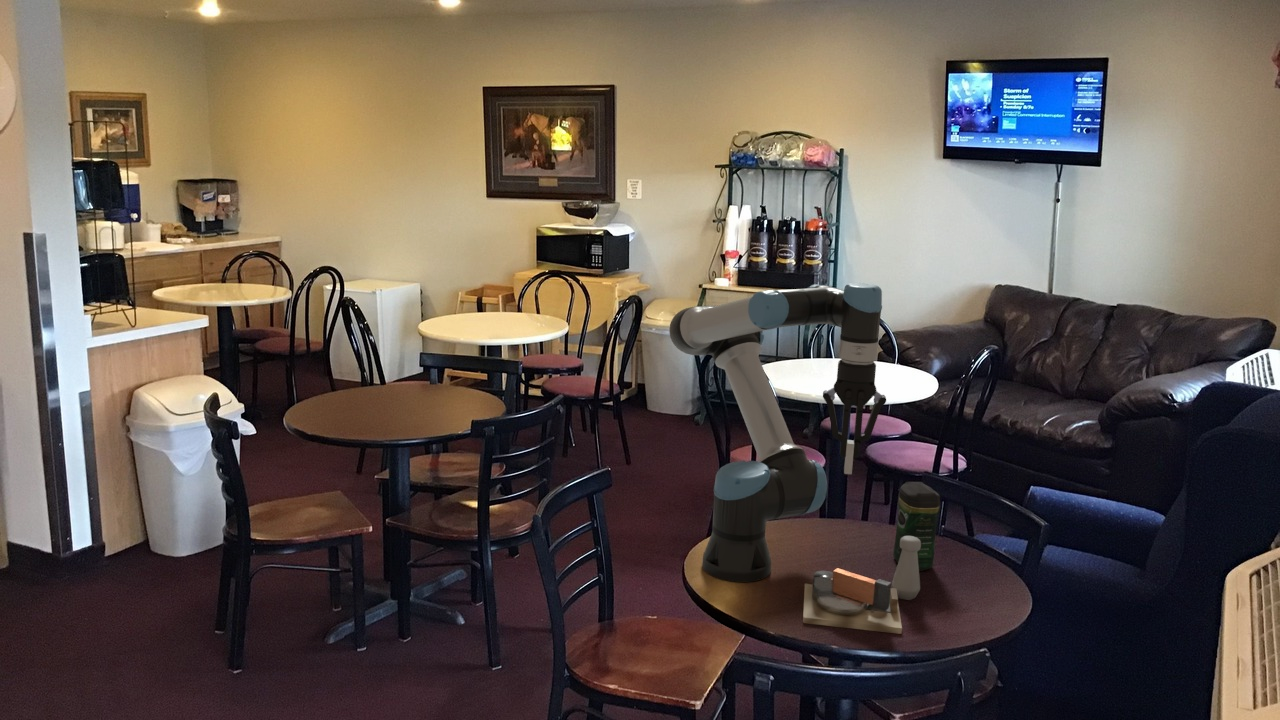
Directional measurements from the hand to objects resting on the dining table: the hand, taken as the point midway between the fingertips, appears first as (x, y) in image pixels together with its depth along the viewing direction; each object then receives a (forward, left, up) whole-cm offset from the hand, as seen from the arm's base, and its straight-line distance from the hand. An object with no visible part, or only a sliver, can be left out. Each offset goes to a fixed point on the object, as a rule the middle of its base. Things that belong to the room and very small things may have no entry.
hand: (847, 471), depth 216 cm
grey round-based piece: (+2, -11, -25) cm, 27 cm away
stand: (+3, -9, -26) cm, 28 cm away
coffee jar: (+17, +19, -27) cm, 37 cm away
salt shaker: (+14, +1, -27) cm, 30 cm away
